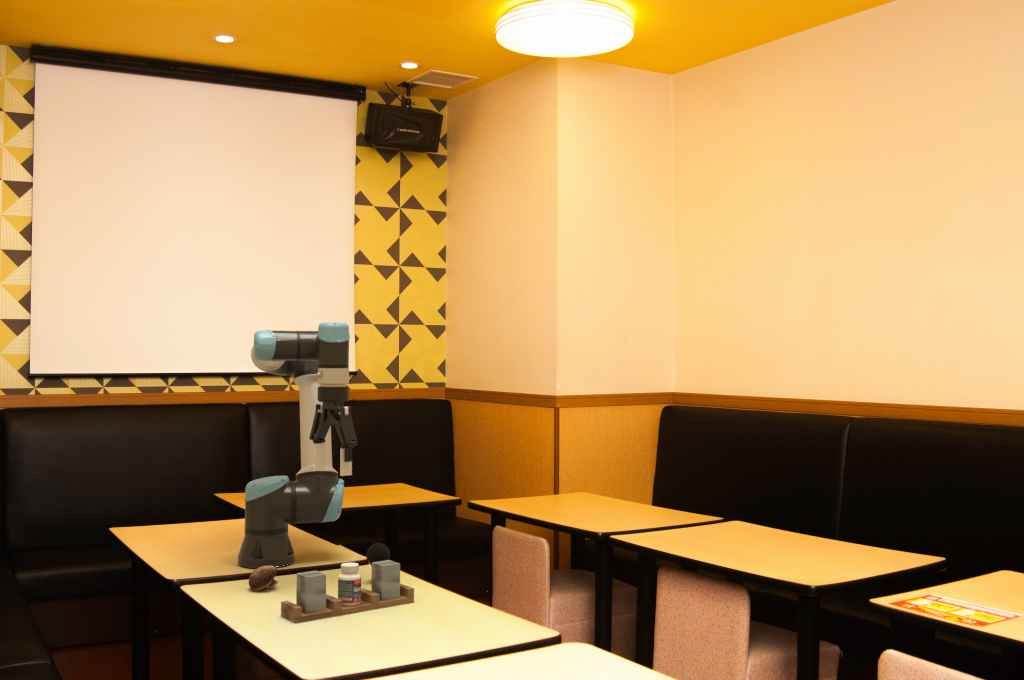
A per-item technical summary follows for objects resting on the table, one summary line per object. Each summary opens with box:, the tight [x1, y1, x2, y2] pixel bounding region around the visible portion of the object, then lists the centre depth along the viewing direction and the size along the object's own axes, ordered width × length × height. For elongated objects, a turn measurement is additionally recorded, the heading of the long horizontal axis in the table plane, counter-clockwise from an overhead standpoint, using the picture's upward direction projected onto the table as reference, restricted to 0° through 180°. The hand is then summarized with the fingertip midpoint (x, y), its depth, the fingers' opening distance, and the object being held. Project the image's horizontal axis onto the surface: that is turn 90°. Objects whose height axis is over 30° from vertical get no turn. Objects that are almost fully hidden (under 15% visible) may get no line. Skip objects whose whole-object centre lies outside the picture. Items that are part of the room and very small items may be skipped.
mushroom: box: [248, 566, 279, 592], centre depth 246 cm, size 8×8×6 cm
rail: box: [280, 559, 415, 624], centre depth 228 cm, size 7×30×9 cm, turn 128°
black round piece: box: [366, 542, 391, 568], centre depth 253 cm, size 6×6×10 cm
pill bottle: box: [337, 562, 362, 606], centre depth 228 cm, size 5×5×9 cm
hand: (332, 472), depth 246 cm, fingers open, 13 cm apart
